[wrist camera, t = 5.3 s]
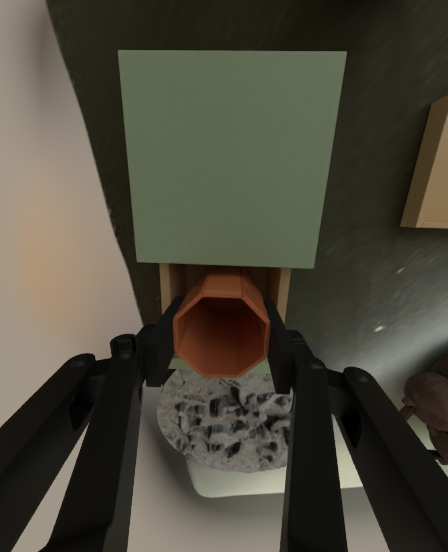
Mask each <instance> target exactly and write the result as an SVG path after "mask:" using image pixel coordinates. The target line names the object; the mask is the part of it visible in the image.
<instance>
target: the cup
mask: <svg viewBox="0 0 448 552" xmlns="http://www.w3.org/2000/svg"><path fill="white" fill-rule="evenodd" d="M270 328H271V323H270V320H269V317H268V314H267V311H266V308H265V305H264V302H263V299H262V296H261V293H260V290H259V287H258V284H257V281H256V278H255V277H254V276H253V274H252V273H251V272H250V271H249V269H248V268H247V267H246V266H226V265H208V266H207V267H206V268H205V269H204V270H203V271H202V272H201V273H200V274H199V275H198V276H197V278H196V279H195V281H194V283H193V284H192V286H191V288H190V290H189V291H188V293H187V295H186V297H185V298H184V300H183V302H182V304H181V305H180V307H179V309H178V311H177V312H176V314H175V316H174V319H173V332H174V351H176V355H177V356H179V357H180V358H181V359H182V360H183V361H184V362H185V363H187V364H188V365H189V366H190V367H191V368H192V369H193V370H195V371H196V372H197V373H198V374H199V375H202V374H203V377H219V378H237V376H238V377H242V376H243V375H244V374H246V373H247V372H248V371H250V370H251V369H253V368H254V367H255V366H257V365H258V364H259V363H261V362H262V361H264V360H265V359H266V356H268V348H269V338H270Z"/></svg>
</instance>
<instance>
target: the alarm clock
mask: <svg viewBox="0 0 448 552" xmlns="http://www.w3.org/2000/svg"><path fill="white" fill-rule="evenodd" d="M404 393H405V397H404V398H403V399H402V402H403V404H405V406H404V407H403V408H402V409H401V410H400V411H399V412H400V414H401V415H402V416H403V418H404V419H405V420H406V421H407V420H408V419H409V418H410V417H411V416H412V415H413V414H415V415H416V416H417V417H418V418H419V419H420V420H421V421H422V422H424V423H426V424H427V425H426V426H427V429H428V431H429V437H430V440H431V442H432V444H433V446H434V447H435V449H436V450H428V451H429V452H430V454H431V455H432V456H433V458H434V459H435V460H438V461H439V462H440V463H441V464H442V465H447V464H448V352H446V353H445V354H444V355H443V356H441V357H440V358H439V359H438V360H437V361H436V363H435V364H434V365H433V366H432V368H431V369H430V371H429V372H424V373H419V374H416V375H414V376H412V377H410V378H409V379H408V380H407V381H406V383H405V387H404Z"/></svg>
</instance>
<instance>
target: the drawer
mask: <svg viewBox="0 0 448 552" xmlns="http://www.w3.org/2000/svg"><path fill="white" fill-rule="evenodd" d="M207 266H208V265H199V264H173V263H159V267H160V283H161V300H162V315H163V314H164V312H165V311H166V309H167V308H168V306H169V305H170V304H171V302H172V301H173V299H174V298H175V296H185V297H186V295H187V293H188V291H189V290H190V288H191V286H192V284H193V283H194V281H195V279H196V278H197V276H198V275H199V274H200V273H201V272H202V271H203V270H204V269H205V268H206V267H207ZM246 267H247V268H248V269H249V271H250V272H251V273H252V274H253V276H254V277H255V278H256V281H257V284H258V287H259V290H260V293H261V296H262V299H263V300H273V301H274V303H275V306H276V308H277V310H278V312H279V314H280V317H281V319H282V321H283V323H284V322H285V314H286V306H287V298H288V290H289V282H290V274H291V268H279V267H252V266H246ZM168 369H187V370H193V369H192V368H191V367H190V366H189V365H188V364H187V363H185V362H184V361H183V360H182V359H181V358H180V357H179V356H177V355H176V351H175V353H174V356H173V358H172V360H171V363H170V365H169V367H168ZM247 373H261V374H271V372H270V367H269V363H268V359H267V356H266V359H265V360H264V361H262V362H261V363H259V364H258V365H257V366H255V367H254V368H253V369H251V370H250V371H248V372H247Z"/></svg>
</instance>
